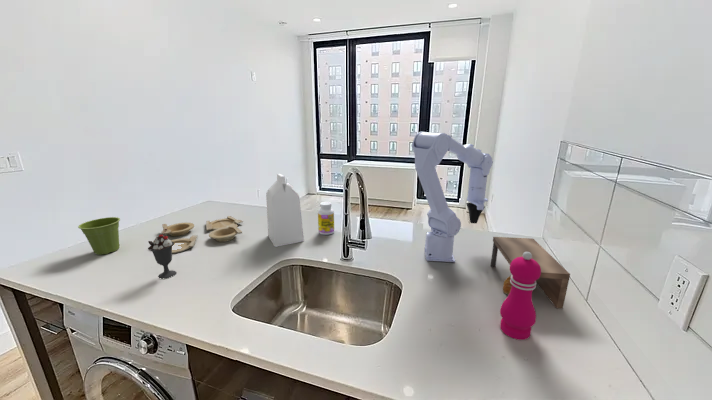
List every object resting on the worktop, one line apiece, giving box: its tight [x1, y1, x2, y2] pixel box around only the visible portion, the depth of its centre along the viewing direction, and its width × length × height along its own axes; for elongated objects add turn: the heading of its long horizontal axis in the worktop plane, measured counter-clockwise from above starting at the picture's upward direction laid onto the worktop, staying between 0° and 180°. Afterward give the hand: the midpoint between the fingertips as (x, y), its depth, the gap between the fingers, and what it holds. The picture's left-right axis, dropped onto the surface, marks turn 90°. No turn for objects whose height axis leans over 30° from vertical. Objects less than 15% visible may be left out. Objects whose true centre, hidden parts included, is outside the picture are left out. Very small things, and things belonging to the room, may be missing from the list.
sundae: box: [147, 229, 177, 280], centre depth 94 cm, size 7×7×15 cm
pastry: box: [502, 275, 512, 296], centre depth 86 cm, size 9×7×4 cm
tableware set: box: [161, 215, 244, 255], centre depth 126 cm, size 35×29×4 cm
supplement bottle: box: [317, 201, 335, 236], centre depth 127 cm, size 7×7×13 cm
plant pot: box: [77, 216, 121, 256], centre depth 112 cm, size 12×12×11 cm
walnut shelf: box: [490, 236, 571, 310], centre depth 88 cm, size 12×22×10 cm, turn 172°
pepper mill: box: [499, 252, 541, 341], centre depth 68 cm, size 7×7×20 cm
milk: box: [265, 173, 305, 247], centre depth 119 cm, size 12×12×26 cm
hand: (473, 222), depth 112 cm, fingers closed
